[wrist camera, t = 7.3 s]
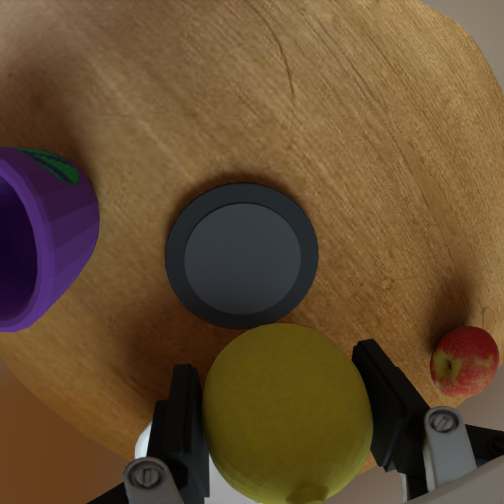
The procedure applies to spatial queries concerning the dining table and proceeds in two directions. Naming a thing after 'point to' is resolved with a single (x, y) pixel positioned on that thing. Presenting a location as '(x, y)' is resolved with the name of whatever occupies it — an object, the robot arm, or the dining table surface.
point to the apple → (464, 362)
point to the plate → (241, 255)
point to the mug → (41, 232)
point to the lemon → (286, 415)
